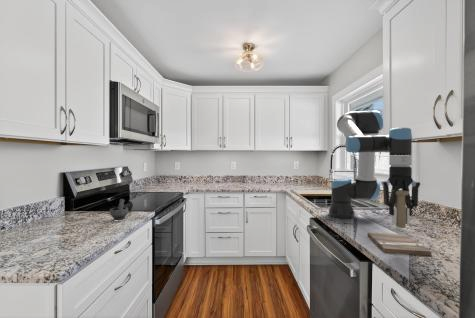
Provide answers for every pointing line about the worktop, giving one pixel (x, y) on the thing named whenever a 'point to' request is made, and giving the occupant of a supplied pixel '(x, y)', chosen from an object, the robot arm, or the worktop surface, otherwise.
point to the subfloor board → (398, 244)
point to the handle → (401, 208)
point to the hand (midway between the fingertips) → (400, 223)
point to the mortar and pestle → (119, 211)
